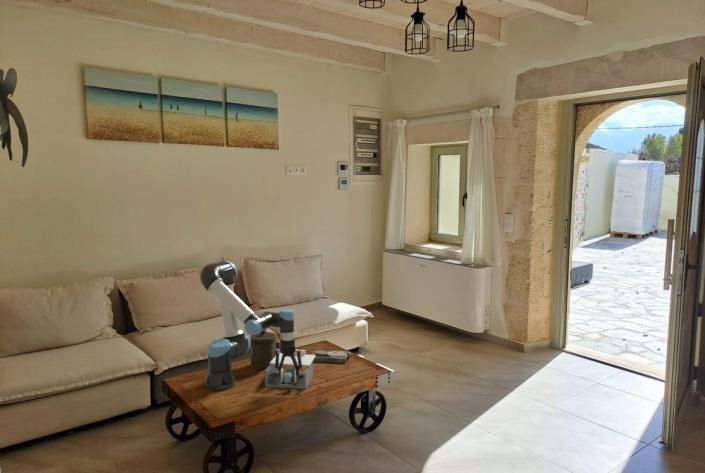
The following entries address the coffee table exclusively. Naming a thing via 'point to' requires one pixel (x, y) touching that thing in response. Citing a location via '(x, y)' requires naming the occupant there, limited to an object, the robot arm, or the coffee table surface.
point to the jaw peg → (287, 378)
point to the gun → (331, 356)
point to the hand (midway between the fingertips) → (289, 381)
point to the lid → (304, 358)
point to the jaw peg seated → (291, 369)
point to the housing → (302, 380)
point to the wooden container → (262, 349)
